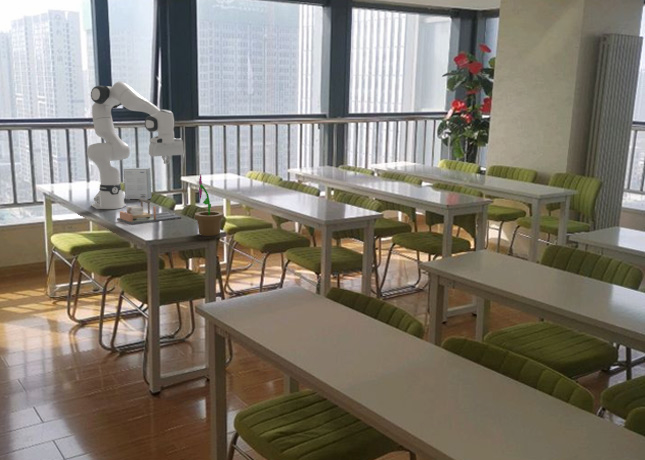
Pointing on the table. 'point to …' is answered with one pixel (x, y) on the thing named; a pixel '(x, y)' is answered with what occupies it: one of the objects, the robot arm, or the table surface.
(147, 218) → the rails
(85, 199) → the table surface
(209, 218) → the flowerpot
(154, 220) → the dock mat
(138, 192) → the hard drive box
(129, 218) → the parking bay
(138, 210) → the tan box with handle
